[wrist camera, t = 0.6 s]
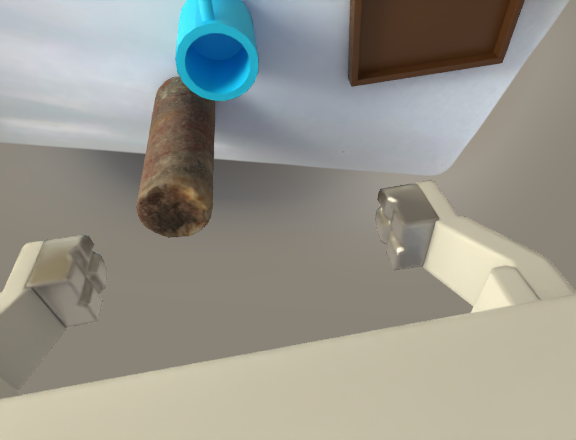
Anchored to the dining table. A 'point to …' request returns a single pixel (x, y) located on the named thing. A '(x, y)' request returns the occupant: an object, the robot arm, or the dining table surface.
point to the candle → (178, 162)
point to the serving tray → (426, 36)
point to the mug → (216, 48)
